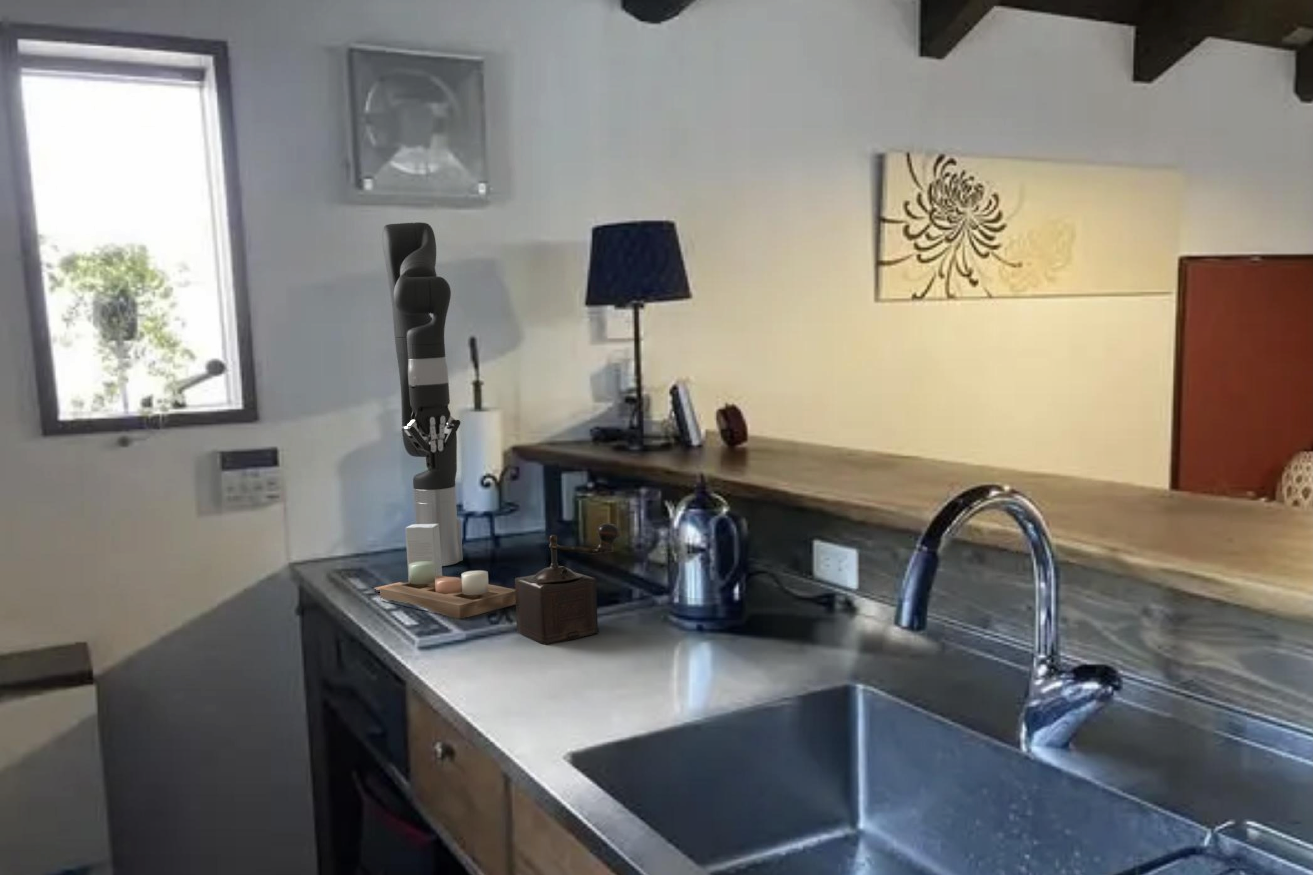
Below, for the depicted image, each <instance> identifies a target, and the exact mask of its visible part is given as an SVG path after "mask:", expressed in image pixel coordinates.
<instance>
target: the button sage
mask: <svg viewBox="0 0 1313 875" xmlns="http://www.w3.org/2000/svg"><path fill="white" fill-rule="evenodd" d="M409 575H410V583H411V584H428V583H432V582H434V581H435V567H434V562H431V561H420V562H414V563H410V564H409Z"/></svg>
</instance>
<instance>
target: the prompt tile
mask: <svg viewBox="0 0 1313 875" xmlns="http://www.w3.org/2000/svg"><path fill="white" fill-rule="evenodd" d="M402 583H403V582H401V581H399V582H395V583H390V584H386V585H380V586H376V587H374V588H373V590H374V589H376V590H380V588H384V587H389V586H393V585H397V584H402Z"/></svg>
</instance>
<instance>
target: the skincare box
mask: <svg viewBox="0 0 1313 875" xmlns="http://www.w3.org/2000/svg"><path fill="white" fill-rule="evenodd" d="M404 529H405V542H406V558H407V560H406V561H407V575H408V578H407V579H408V582H410V575H409V564H410V563H414V562H420V561H431V562H434V567H435V576H437V575H442V576H443V569H442V568H443V566H442V564H441V548H440V532H439V524H415V523H413V524H412V523H411V524H410V525H408V526H406V527H404Z"/></svg>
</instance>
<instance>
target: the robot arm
mask: <svg viewBox="0 0 1313 875" xmlns="http://www.w3.org/2000/svg"><path fill="white" fill-rule="evenodd" d="M381 233H382V234H381V242H382V250H383V256H384V263H385V268H386V274H387V280H388V285H389V286H388V287H389V291H390V292H389V293H390V299H391V300H390V301H391V307H392V320H393V321H392V323H393V331H394V332H393V333H394V334H393V335H394V344H395V351H396V358H397V365H398V371H399V372H398V373H399V382H400V384H399V385H400V394H401V395H400V402H401V433H402V442H403V445H404V448H405V451H406V452H407V453H408V455H409V456H411V457H416V458H417V457H418V458H425V461H426V462H425V463H426V468H427V470H424V471H421V472H420V473H417V474H415V475H414V476H413V478H412V485H413V486H412V487H413V502H414V521H415V523H414V524H439V532H440V548H441V564H442V567H446V566H451V565H455V564H457V563H459V562H462V561H463V542H462V540H463V539H462V538H463V536H462V521H461V519H460V518H458V511H457V494H456V493H457V492H456V491H457V490H456V479H457V478H456V477H457V473H458V472H457V471H458V468H457V467H458V464H457V462H458V460H457V459H458V457H457V456H458V452H457V451H458V446H457V444H458V443H457V442H458V440H457V439H458V436H457V431H458V429H459V428H460V426H461V420H460V419H455V418H454V417H453V416H451V411H450V409H449V405H450V403H451V402H450V386H449V384H450V383H449V370H448V369H449V368H448V365H447V360H446V348H445V347H446V345H445V330H446V329H445V328H446V319H447V315H448V310H449V306H450V302H451V298H452V297H451V296H452V295H451V294H452V292H451V291H452V290H451V286H450V284H449V283H448V281H447V280H446V279H445V278H444V277H443V276H438V275H437V271H436V263H437V243H436V236H435V233H434V230H433V227H432V226H431V225H430V224H429V223H427V222H419V221H418V222H402V223H401V222H400V223H389V224H386V225H384V226H383V228H382V232H381ZM430 314H431V315H432V316H431V315H430Z"/></svg>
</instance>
